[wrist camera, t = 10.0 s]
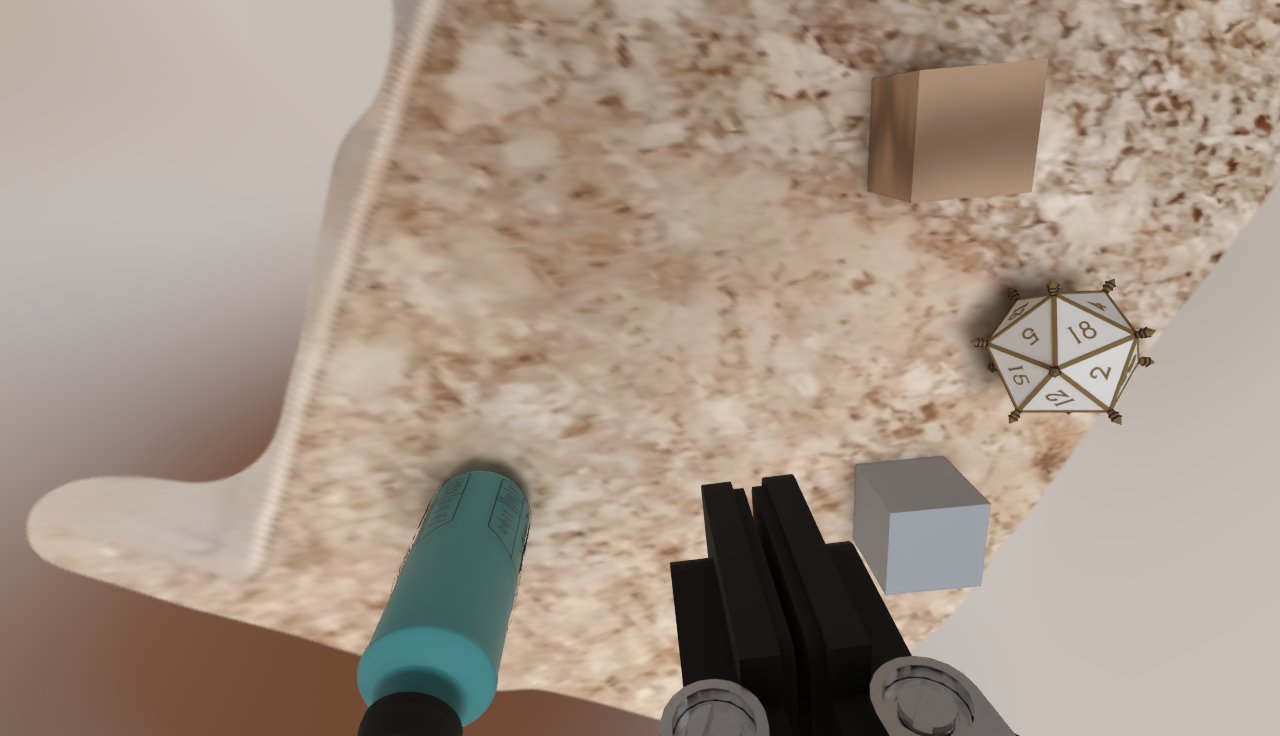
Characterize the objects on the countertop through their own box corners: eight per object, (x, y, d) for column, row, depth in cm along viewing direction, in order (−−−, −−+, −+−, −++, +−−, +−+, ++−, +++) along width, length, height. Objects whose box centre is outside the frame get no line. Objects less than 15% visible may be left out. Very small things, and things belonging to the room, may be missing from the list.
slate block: (855, 463, 44) (890, 513, 39) (943, 455, 44) (991, 503, 39) (852, 537, 46) (885, 595, 41) (936, 529, 46) (980, 586, 41)
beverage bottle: (429, 459, 43) (286, 721, 24) (530, 450, 43) (466, 705, 24) (447, 542, 45) (328, 840, 26) (543, 534, 45) (492, 826, 26)
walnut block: (871, 78, 36) (919, 70, 30) (980, 68, 36) (1048, 58, 30) (866, 190, 38) (910, 202, 32) (969, 181, 38) (1031, 192, 32)
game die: (999, 286, 44) (1163, 229, 35) (1054, 401, 44) (1233, 374, 35) (912, 333, 40) (1070, 282, 31) (972, 458, 40) (1148, 444, 31)
